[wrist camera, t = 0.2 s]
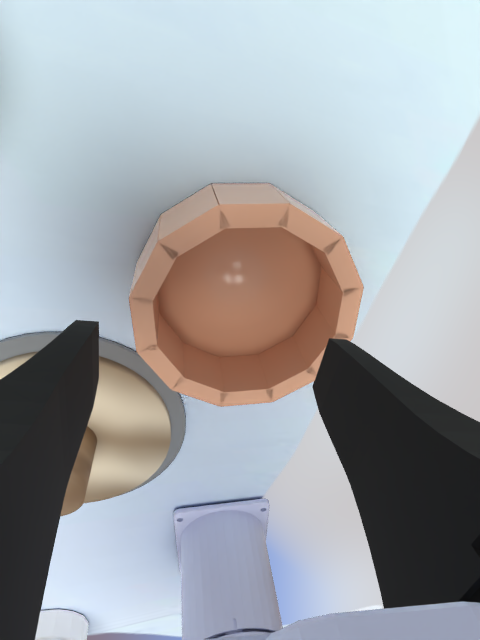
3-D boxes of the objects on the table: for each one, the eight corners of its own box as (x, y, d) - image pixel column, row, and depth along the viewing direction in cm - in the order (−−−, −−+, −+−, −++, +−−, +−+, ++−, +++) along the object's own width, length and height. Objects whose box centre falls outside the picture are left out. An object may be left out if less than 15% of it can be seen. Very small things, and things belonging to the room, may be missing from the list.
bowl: (318, 355, 25) (340, 396, 22) (149, 367, 24) (145, 413, 21) (346, 182, 20) (381, 202, 16) (126, 184, 18) (115, 206, 15)
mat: (190, 485, 30) (190, 489, 30) (-14, 508, 28) (-17, 513, 28) (178, 324, 23) (178, 328, 22) (-103, 340, 21) (-108, 344, 20)
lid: (176, 483, 29) (176, 546, 25) (-6, 503, 28) (-37, 575, 24) (162, 343, 23) (160, 398, 19) (-79, 358, 21) (-141, 423, 17)
